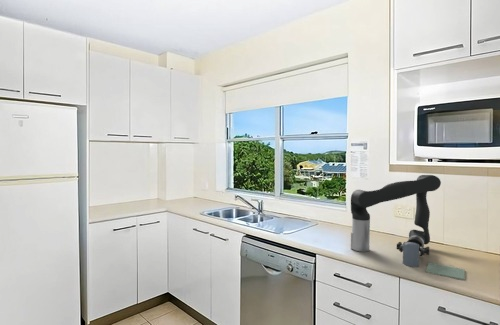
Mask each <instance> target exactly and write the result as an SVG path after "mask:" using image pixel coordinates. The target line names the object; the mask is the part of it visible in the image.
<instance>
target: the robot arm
mask: <svg viewBox="0 0 500 325" xmlns="http://www.w3.org/2000/svg"><path fill="white" fill-rule="evenodd" d="M441 184H442V181H441V178H439V177H438V176H436V175H433V174H422V175H419V176H418V177H417V178H416V179H415V180H403V181H395V182H392V183H388V184H386V185H385V186H383V187H381V188H380V189H375V190H363V189H355V190H354V191H353V192H352V193H351V196H350V212H351V214H352V215H351V216H352V219H351V221H352V222H351V223H352V224H351V228H352V229H351V232H350V250H353V251H356V252H360V253H361V252H362V253H365V252H369V251H370V239H371V238H370V234H371V233H370V231H371V230H370V229H371V214H370V213H369V211H368V210H367V208H370V207H373V206H375V205H378V204H381V203H384V202H385V203H386V202H390V201H395V200H400V199H402V198H403V199H404V198H406V197H411V196H414V195H415V196H416V197H415V198H416V199H415V200H416V203H415V204H416V208H415V214H414V225H415V226H417V227H419V228H421V229H422V230H418V229H410V231H409V232H408V239H407V241H406V242H414V243H417V244H419V257H423V256H425V254H426V255H427V256H430V246H425V245H428V244H429V243H430V241H431V234H430V230H429V223H430V217H431V216H430V215H431V212H430V206H429V204H428V201H427V196H428V195H427V194H428V193H429V192H434V191H437V190H438V189H439V188H440V186H441ZM396 250H398V251H399V252H400V253H403V243H402V242H401V241H399V242H397V243H396Z"/></svg>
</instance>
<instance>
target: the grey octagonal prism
mask: <svg viewBox="0 0 500 325" xmlns="http://www.w3.org/2000/svg"><path fill="white" fill-rule="evenodd" d="M402 244H403V252H402V264H403V265H405V266H406V267H410V268H411V267H412V268H419V265H420V262H419V261H420V254H419V244H417V243H414V242H407V241H403V243H402Z"/></svg>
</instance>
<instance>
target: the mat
mask: <svg viewBox="0 0 500 325" xmlns="http://www.w3.org/2000/svg"><path fill="white" fill-rule="evenodd" d="M427 264H428V265H427V266H426V270H425V273H427V274H433V275H439V276H443V277H447V278H451V279H455V280H456V279H457V280H460V281H465V274H466V273H465V269H464V268H460V267H459V268H458V267H455V266H450V265H449V266H448V265H445V264H439V263H435V262H428V263H427Z"/></svg>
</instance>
